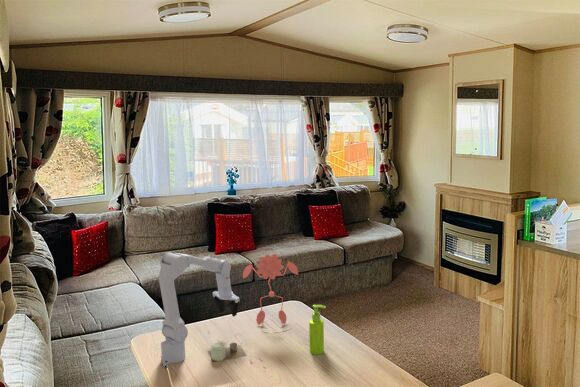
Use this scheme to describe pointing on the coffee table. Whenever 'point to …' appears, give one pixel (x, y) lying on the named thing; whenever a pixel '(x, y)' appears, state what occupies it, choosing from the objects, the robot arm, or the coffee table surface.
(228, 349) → the post base
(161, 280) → the robot arm
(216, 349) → the cap
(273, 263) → the figurine
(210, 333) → the coffee table surface
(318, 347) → the soap dispenser
